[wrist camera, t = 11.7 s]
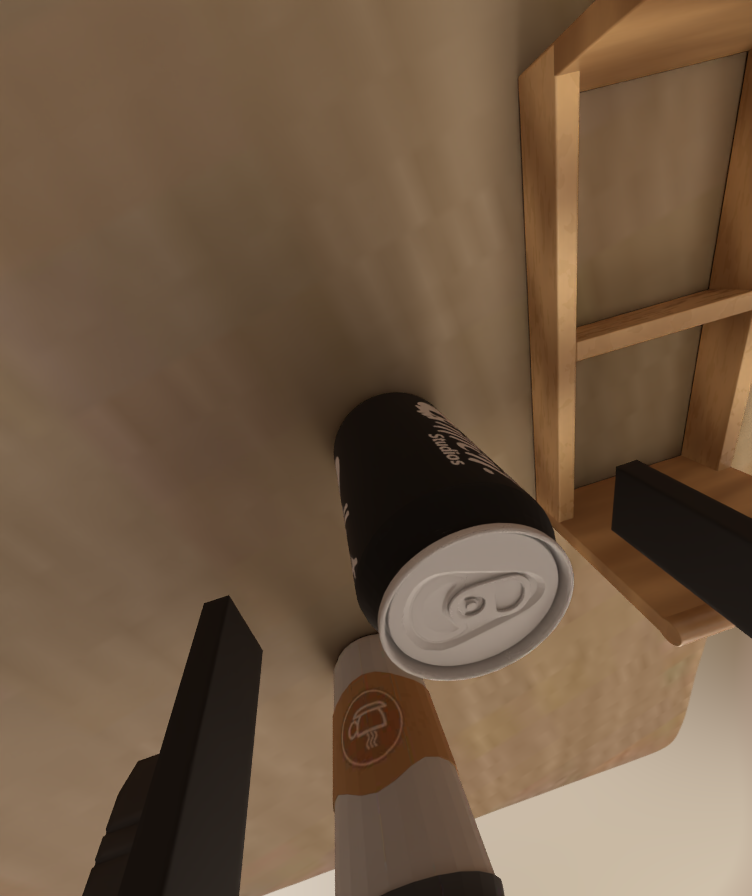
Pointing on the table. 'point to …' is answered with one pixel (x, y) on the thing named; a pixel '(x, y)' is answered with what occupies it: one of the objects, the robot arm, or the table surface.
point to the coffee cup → (398, 788)
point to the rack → (719, 309)
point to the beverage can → (444, 544)
